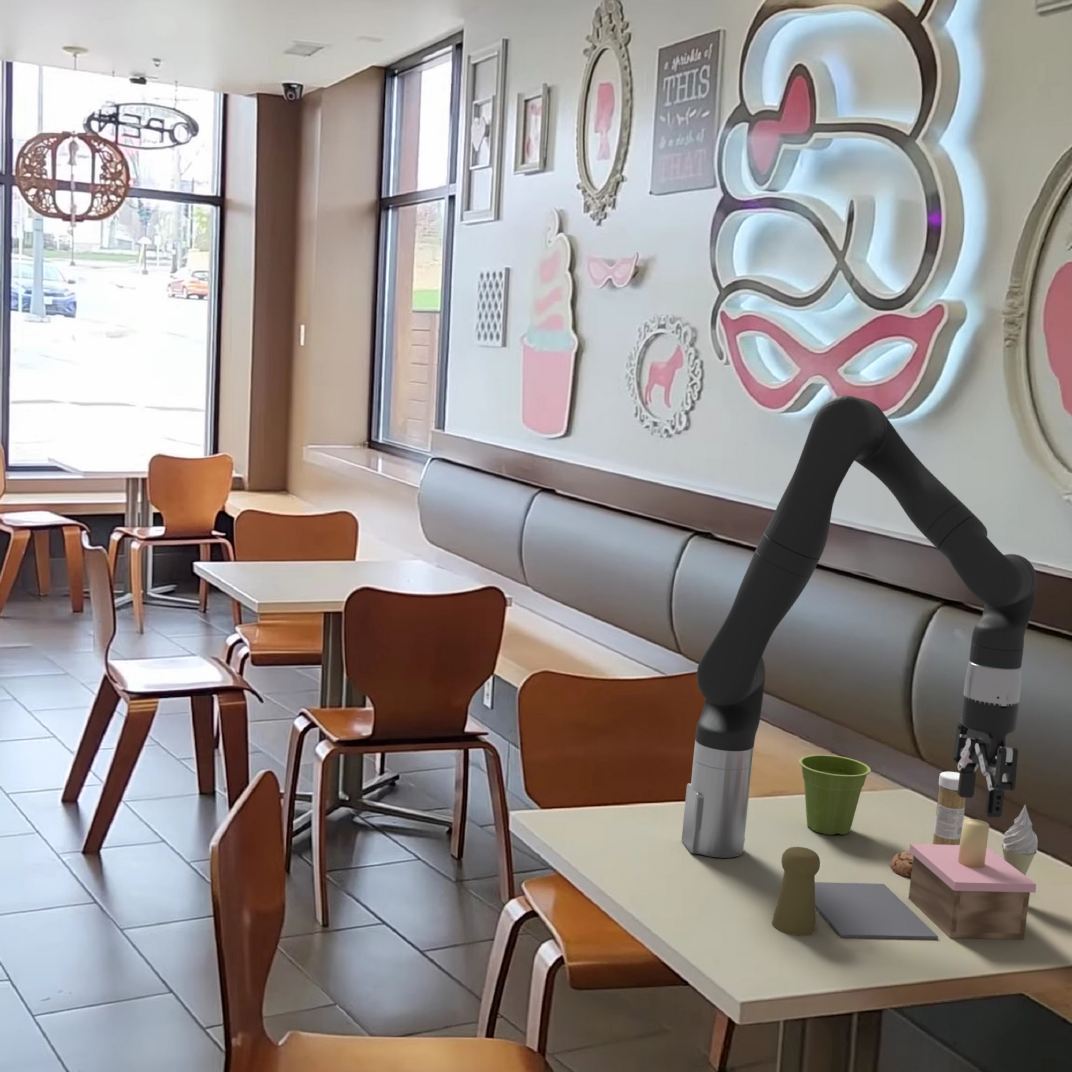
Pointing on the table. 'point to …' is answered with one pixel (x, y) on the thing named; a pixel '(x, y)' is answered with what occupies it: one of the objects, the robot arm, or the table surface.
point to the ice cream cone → (1020, 843)
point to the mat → (868, 912)
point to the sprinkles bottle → (949, 811)
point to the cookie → (902, 863)
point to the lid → (972, 863)
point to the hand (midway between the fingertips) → (978, 806)
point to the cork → (797, 892)
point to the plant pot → (832, 791)
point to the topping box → (968, 907)
